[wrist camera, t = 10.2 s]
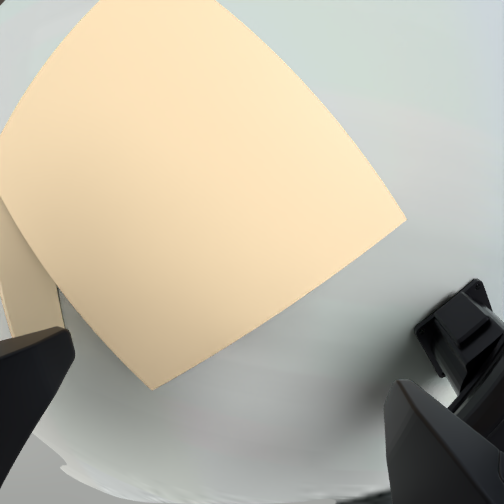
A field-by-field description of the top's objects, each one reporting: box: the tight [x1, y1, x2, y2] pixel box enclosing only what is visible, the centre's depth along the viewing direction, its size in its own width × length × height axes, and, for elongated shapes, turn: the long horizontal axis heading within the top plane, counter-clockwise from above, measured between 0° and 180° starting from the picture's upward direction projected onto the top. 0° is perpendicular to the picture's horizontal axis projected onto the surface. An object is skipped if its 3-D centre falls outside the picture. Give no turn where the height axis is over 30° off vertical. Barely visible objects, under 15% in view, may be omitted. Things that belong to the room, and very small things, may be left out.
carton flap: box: [0, 196, 65, 338], centre depth 16 cm, size 16×1×11 cm, turn 176°
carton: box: [0, 0, 407, 391], centre depth 15 cm, size 18×16×6 cm
